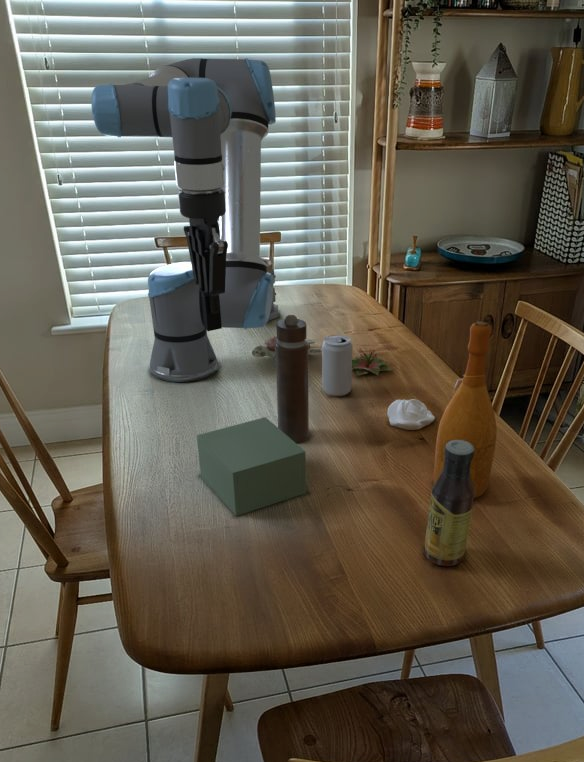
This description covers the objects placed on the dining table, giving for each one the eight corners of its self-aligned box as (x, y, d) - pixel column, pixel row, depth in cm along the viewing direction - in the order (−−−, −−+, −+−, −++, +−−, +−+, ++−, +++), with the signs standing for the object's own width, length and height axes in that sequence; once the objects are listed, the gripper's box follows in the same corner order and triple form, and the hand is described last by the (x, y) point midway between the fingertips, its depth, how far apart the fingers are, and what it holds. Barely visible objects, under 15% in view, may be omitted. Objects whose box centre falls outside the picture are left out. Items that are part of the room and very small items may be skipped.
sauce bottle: (420, 544, 115) (431, 433, 103) (459, 543, 115) (475, 432, 104) (428, 571, 109) (441, 457, 98) (468, 569, 110) (486, 455, 99)
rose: (388, 388, 151) (434, 390, 151) (386, 408, 154) (433, 409, 154) (388, 410, 143) (437, 412, 143) (387, 430, 146) (435, 432, 145)
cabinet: (200, 476, 130) (196, 435, 126) (267, 457, 136) (265, 416, 132) (235, 516, 120) (232, 473, 116) (305, 493, 126) (305, 451, 122)
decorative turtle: (243, 346, 181) (242, 326, 178) (306, 338, 185) (306, 319, 182) (262, 375, 167) (261, 354, 164) (330, 366, 171) (331, 345, 168)
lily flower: (401, 374, 168) (403, 356, 165) (353, 382, 164) (354, 363, 162) (380, 355, 177) (381, 337, 174) (334, 362, 173) (334, 343, 171)
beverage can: (348, 399, 157) (349, 346, 150) (319, 396, 158) (319, 343, 151) (353, 387, 162) (355, 335, 155) (325, 384, 163) (325, 332, 156)
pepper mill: (272, 433, 144) (268, 312, 130) (299, 425, 147) (297, 307, 133) (287, 446, 140) (284, 323, 126) (314, 438, 143) (314, 317, 129)
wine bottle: (492, 478, 131) (518, 316, 114) (482, 507, 124) (509, 338, 107) (438, 468, 134) (456, 309, 117) (426, 496, 126) (443, 329, 109)
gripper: (240, 194, 115) (248, 336, 129) (205, 179, 124) (216, 313, 138) (195, 200, 112) (209, 345, 126) (164, 183, 121) (179, 320, 135)
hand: (213, 328), depth 132 cm, fingers closed
